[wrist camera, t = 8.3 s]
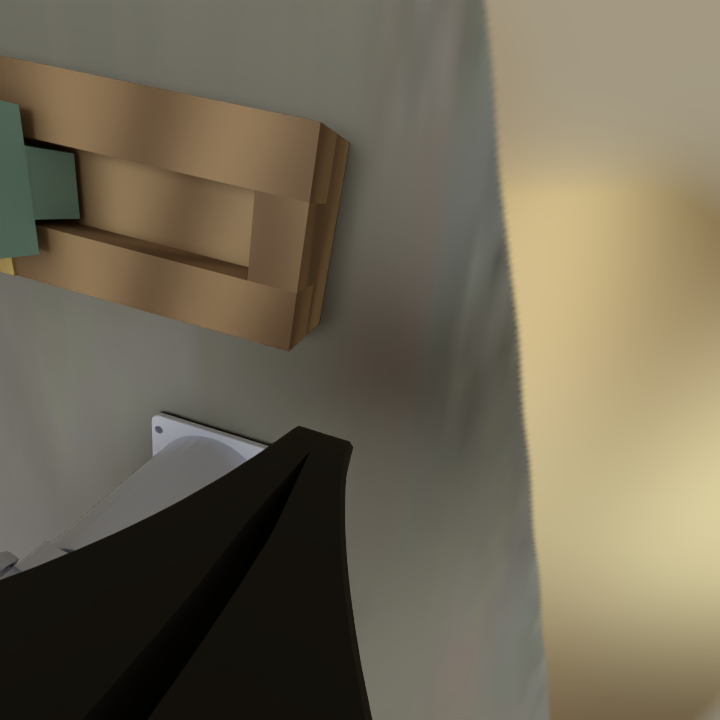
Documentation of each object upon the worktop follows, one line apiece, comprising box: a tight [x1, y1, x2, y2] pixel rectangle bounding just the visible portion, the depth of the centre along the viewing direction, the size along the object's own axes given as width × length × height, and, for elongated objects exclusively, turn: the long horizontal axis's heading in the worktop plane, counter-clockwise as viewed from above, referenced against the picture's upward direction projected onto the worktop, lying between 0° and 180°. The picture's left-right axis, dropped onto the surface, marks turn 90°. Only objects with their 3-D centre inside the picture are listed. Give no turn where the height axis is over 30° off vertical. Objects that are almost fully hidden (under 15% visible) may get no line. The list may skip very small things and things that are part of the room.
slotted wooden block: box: [0, 56, 350, 351], centre depth 15 cm, size 24×8×6 cm, turn 78°
